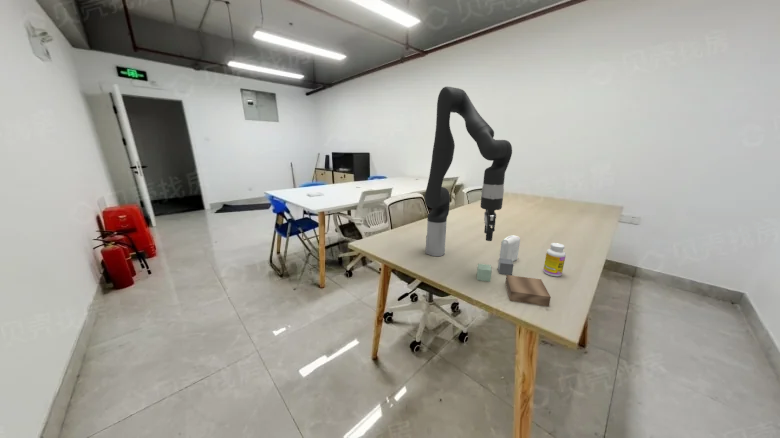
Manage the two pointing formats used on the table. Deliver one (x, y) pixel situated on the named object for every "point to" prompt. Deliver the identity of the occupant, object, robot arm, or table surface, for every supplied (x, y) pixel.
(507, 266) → the charcoal cube
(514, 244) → the photo printer
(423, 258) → the table surface
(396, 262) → the table surface
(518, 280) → the walnut block
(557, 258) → the supplement bottle
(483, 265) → the sage cube
